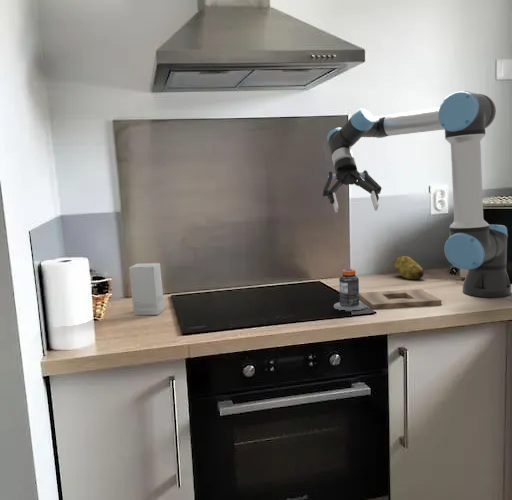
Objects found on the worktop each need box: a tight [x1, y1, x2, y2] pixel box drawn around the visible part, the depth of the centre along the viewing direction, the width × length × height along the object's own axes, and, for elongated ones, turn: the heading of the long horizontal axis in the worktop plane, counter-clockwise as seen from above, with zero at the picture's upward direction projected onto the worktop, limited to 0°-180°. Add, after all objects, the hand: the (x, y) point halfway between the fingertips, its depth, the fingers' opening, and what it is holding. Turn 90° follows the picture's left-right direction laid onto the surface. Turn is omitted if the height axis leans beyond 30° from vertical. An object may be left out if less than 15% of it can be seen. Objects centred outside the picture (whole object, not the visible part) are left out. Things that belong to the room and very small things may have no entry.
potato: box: [393, 255, 425, 280], centre depth 217 cm, size 8×13×8 cm, turn 10°
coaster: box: [333, 301, 367, 312], centre depth 177 cm, size 10×10×1 cm
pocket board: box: [359, 288, 442, 310], centre depth 182 cm, size 22×16×2 cm
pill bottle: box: [339, 268, 360, 307], centre depth 176 cm, size 6×6×11 cm
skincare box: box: [128, 262, 165, 316], centre depth 178 cm, size 8×7×16 cm
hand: (356, 208), depth 188 cm, fingers open, 13 cm apart
